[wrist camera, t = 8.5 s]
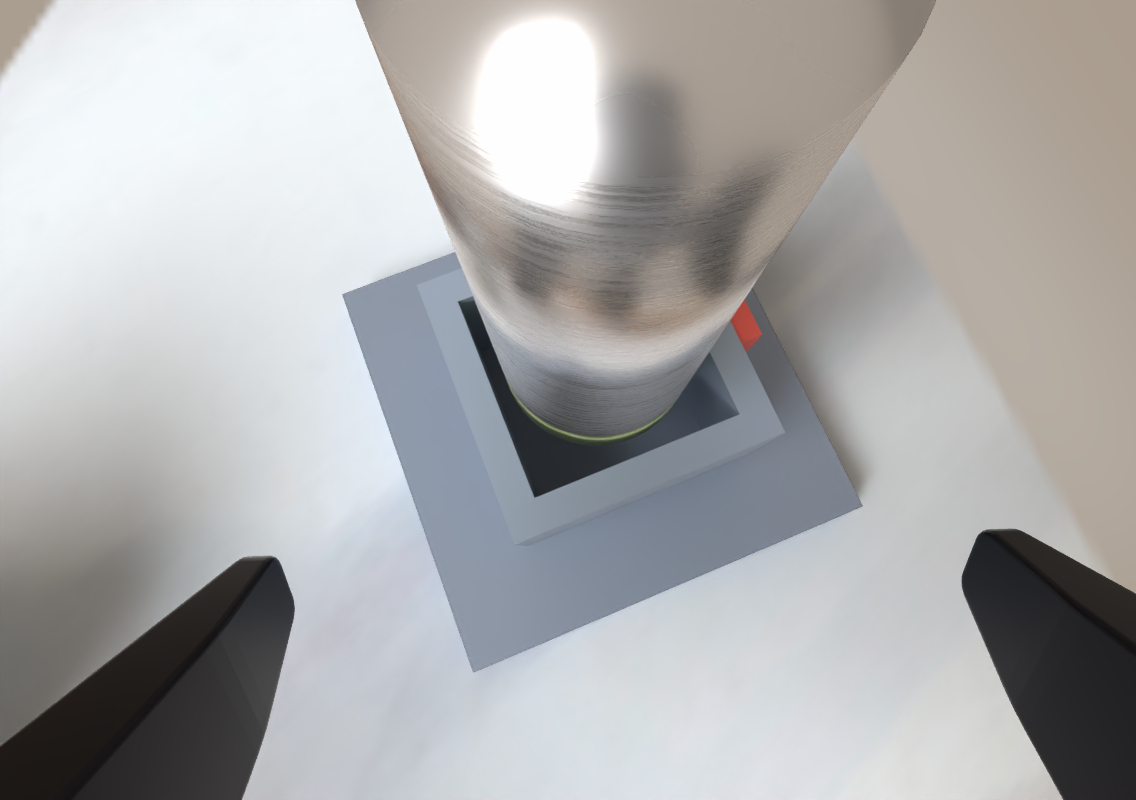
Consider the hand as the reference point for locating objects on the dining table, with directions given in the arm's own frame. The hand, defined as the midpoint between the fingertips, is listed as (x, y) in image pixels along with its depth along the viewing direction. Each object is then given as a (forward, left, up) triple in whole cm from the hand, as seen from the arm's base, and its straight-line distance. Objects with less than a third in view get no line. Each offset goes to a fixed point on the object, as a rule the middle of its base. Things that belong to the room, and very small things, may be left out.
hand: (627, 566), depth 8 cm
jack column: (+4, -2, -6) cm, 8 cm away
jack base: (+4, -2, -11) cm, 12 cm away
